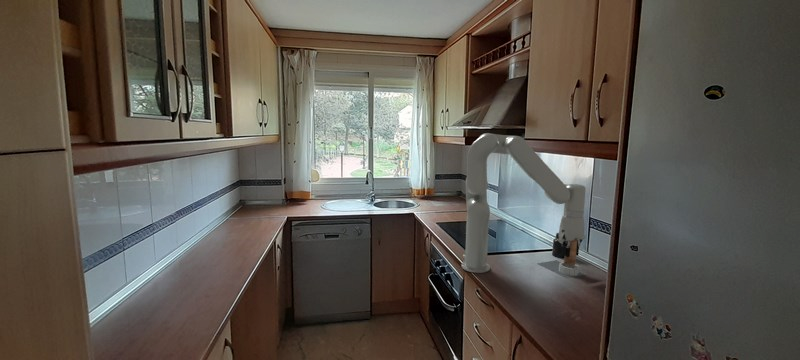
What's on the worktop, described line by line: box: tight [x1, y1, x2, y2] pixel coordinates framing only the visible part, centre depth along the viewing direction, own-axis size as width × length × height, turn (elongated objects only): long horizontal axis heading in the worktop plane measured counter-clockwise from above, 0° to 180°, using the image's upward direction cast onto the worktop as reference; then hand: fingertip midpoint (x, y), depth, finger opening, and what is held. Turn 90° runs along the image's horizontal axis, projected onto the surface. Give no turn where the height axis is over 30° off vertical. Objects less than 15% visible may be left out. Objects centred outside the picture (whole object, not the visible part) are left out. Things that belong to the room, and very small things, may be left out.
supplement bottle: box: [551, 232, 565, 259], centre depth 170 cm, size 7×7×12 cm
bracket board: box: [536, 260, 588, 279], centre depth 154 cm, size 17×12×4 cm
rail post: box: [563, 238, 577, 265], centre depth 149 cm, size 4×4×12 cm
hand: (570, 254), depth 150 cm, fingers closed on rail post, 4 cm apart
